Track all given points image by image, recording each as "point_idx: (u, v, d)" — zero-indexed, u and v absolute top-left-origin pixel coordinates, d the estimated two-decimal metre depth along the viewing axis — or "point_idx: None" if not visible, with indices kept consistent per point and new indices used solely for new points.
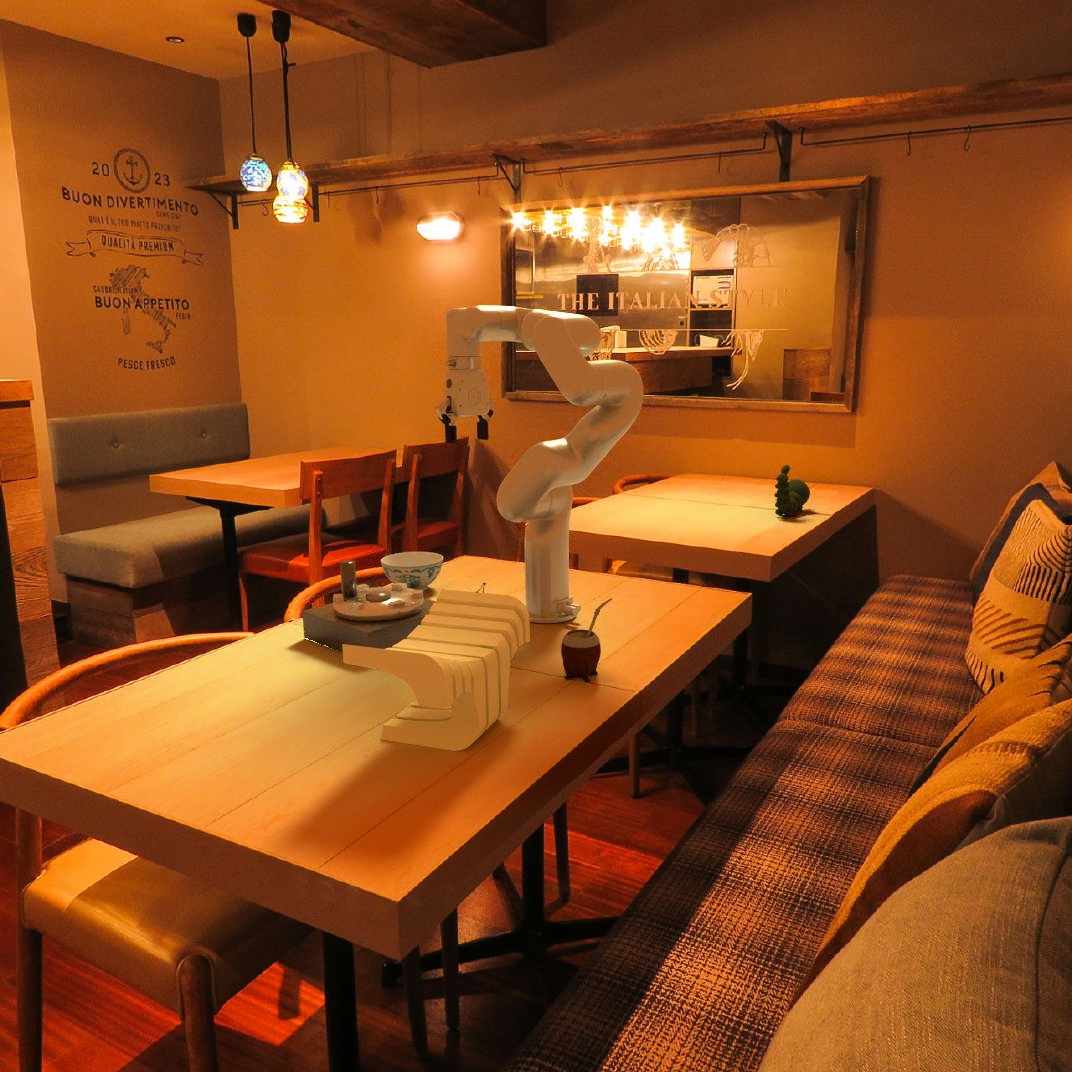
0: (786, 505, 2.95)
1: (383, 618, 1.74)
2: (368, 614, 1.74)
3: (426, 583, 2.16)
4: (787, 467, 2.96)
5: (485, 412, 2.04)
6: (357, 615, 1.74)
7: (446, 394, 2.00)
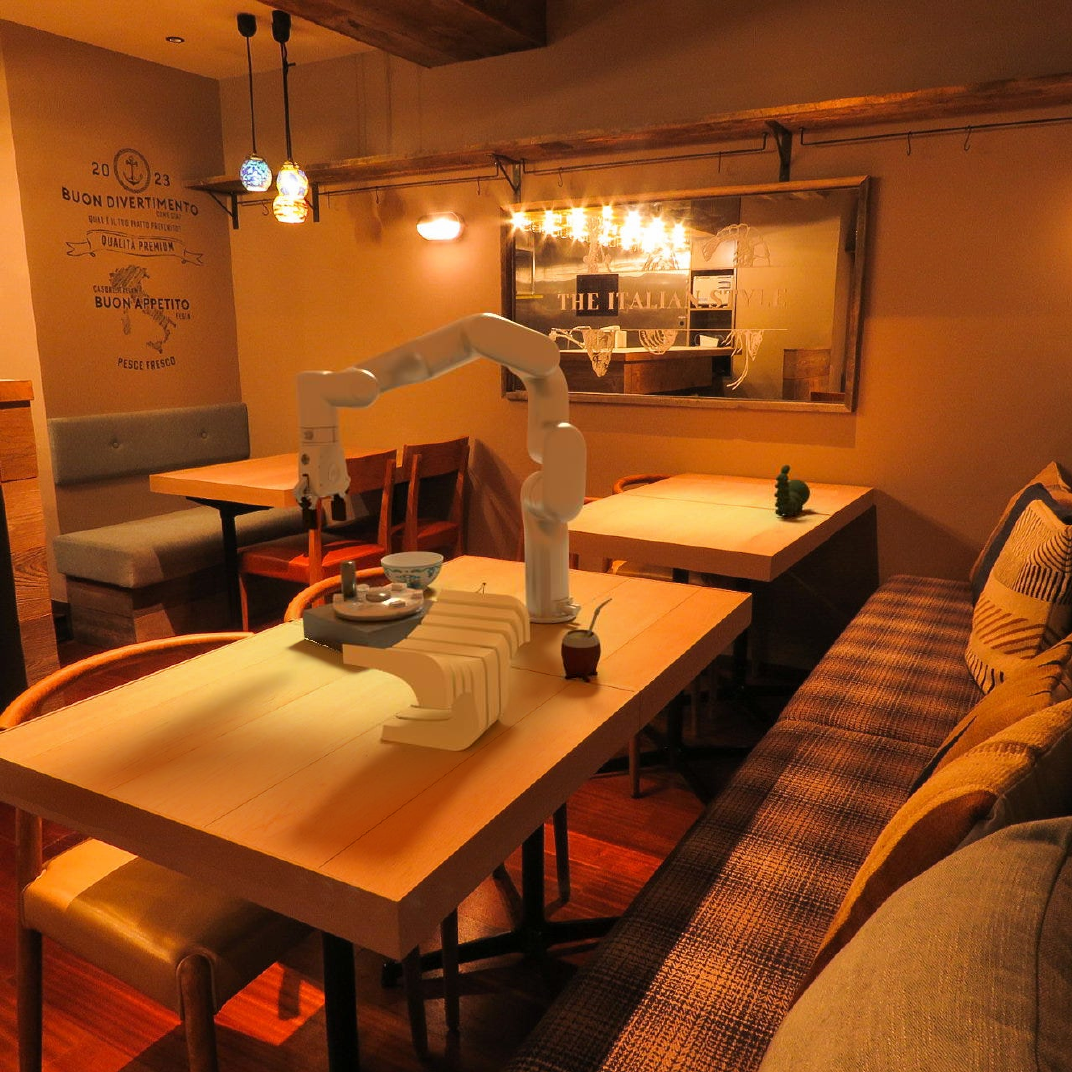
0: (786, 505, 2.95)
1: (383, 618, 1.74)
2: (368, 614, 1.74)
3: (426, 583, 2.16)
4: (787, 467, 2.96)
5: (345, 489, 1.77)
6: (357, 615, 1.74)
7: (301, 472, 1.70)
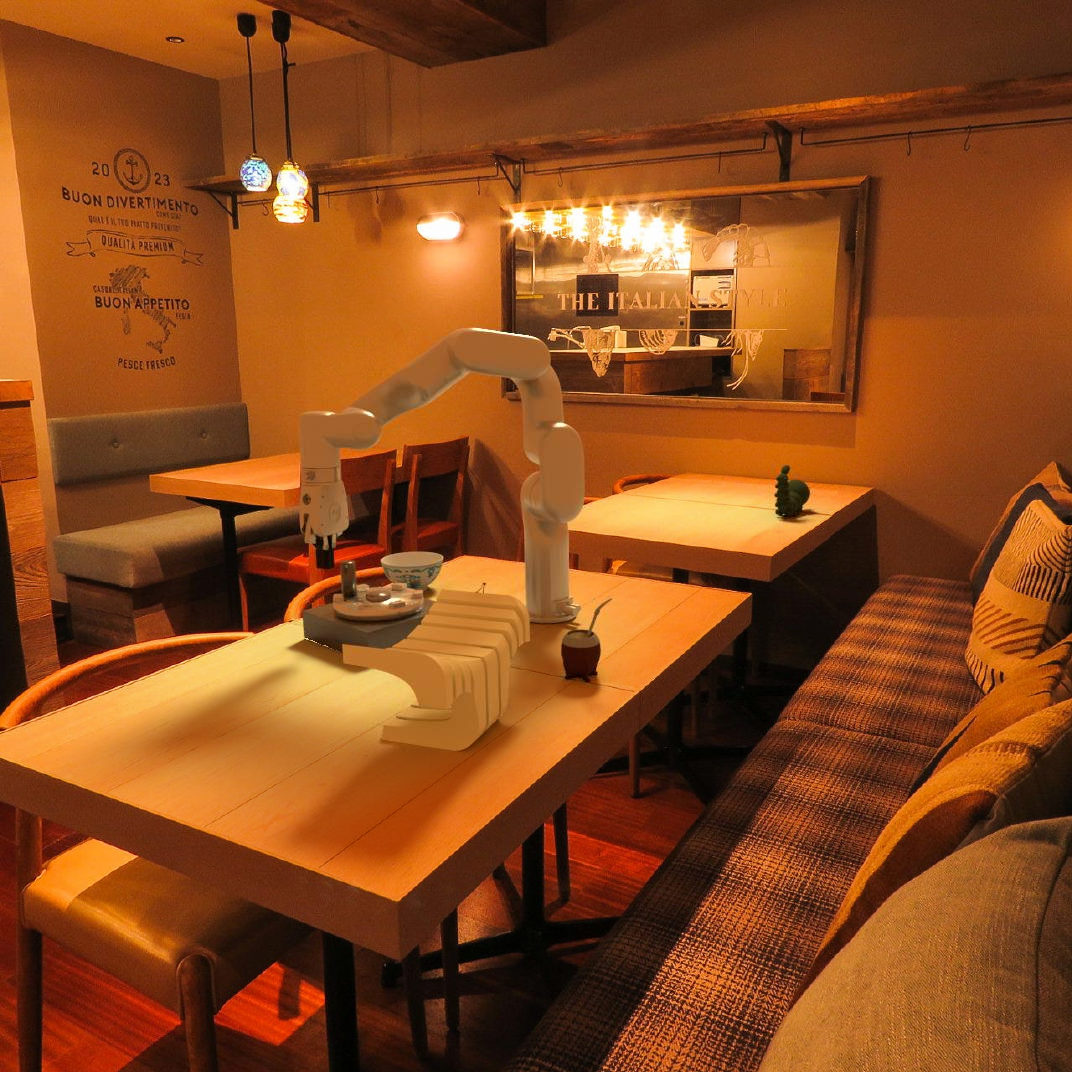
0: (786, 505, 2.95)
1: (383, 618, 1.74)
2: (368, 614, 1.74)
3: (426, 583, 2.16)
4: (787, 467, 2.96)
5: (345, 528, 1.78)
6: (357, 615, 1.74)
7: (303, 511, 1.71)
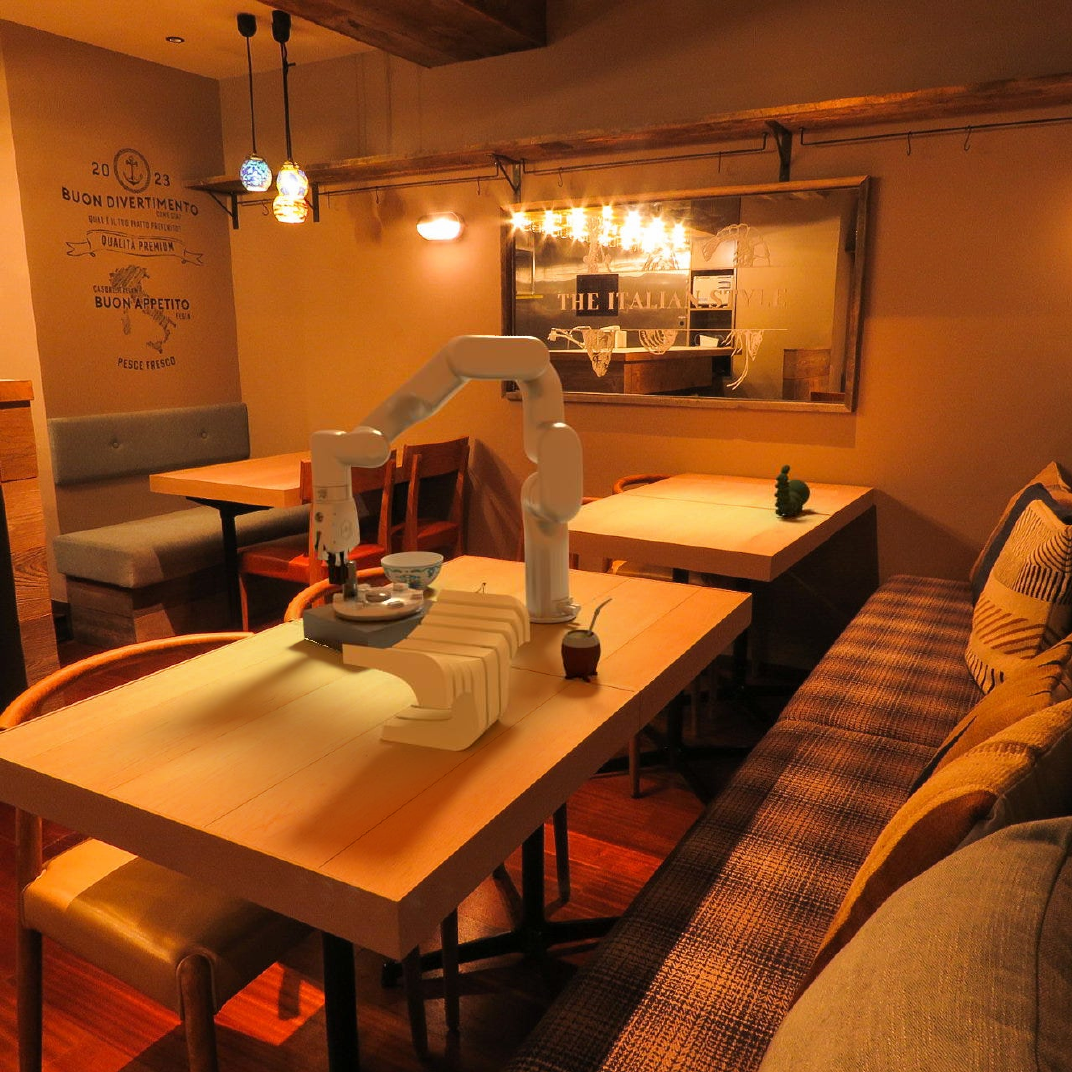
0: (786, 505, 2.95)
1: (381, 618, 1.74)
2: (366, 614, 1.74)
3: (426, 583, 2.16)
4: (787, 467, 2.96)
5: (356, 544, 1.82)
6: (355, 615, 1.75)
7: (315, 529, 1.75)
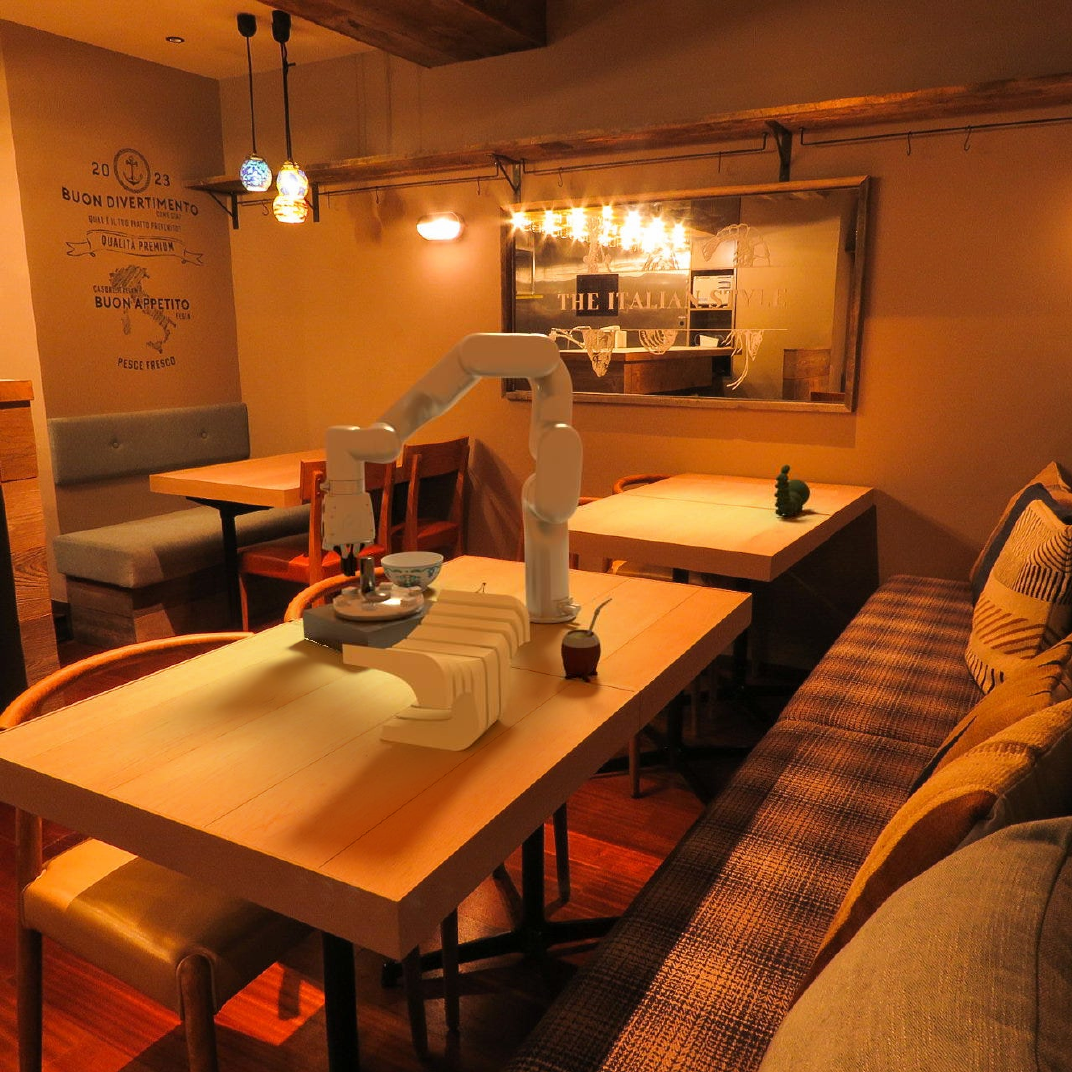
0: (786, 505, 2.95)
1: (352, 618, 1.75)
2: (342, 611, 1.76)
3: (426, 583, 2.16)
4: (787, 467, 2.96)
5: (368, 539, 1.84)
6: (336, 610, 1.78)
7: (322, 519, 1.82)
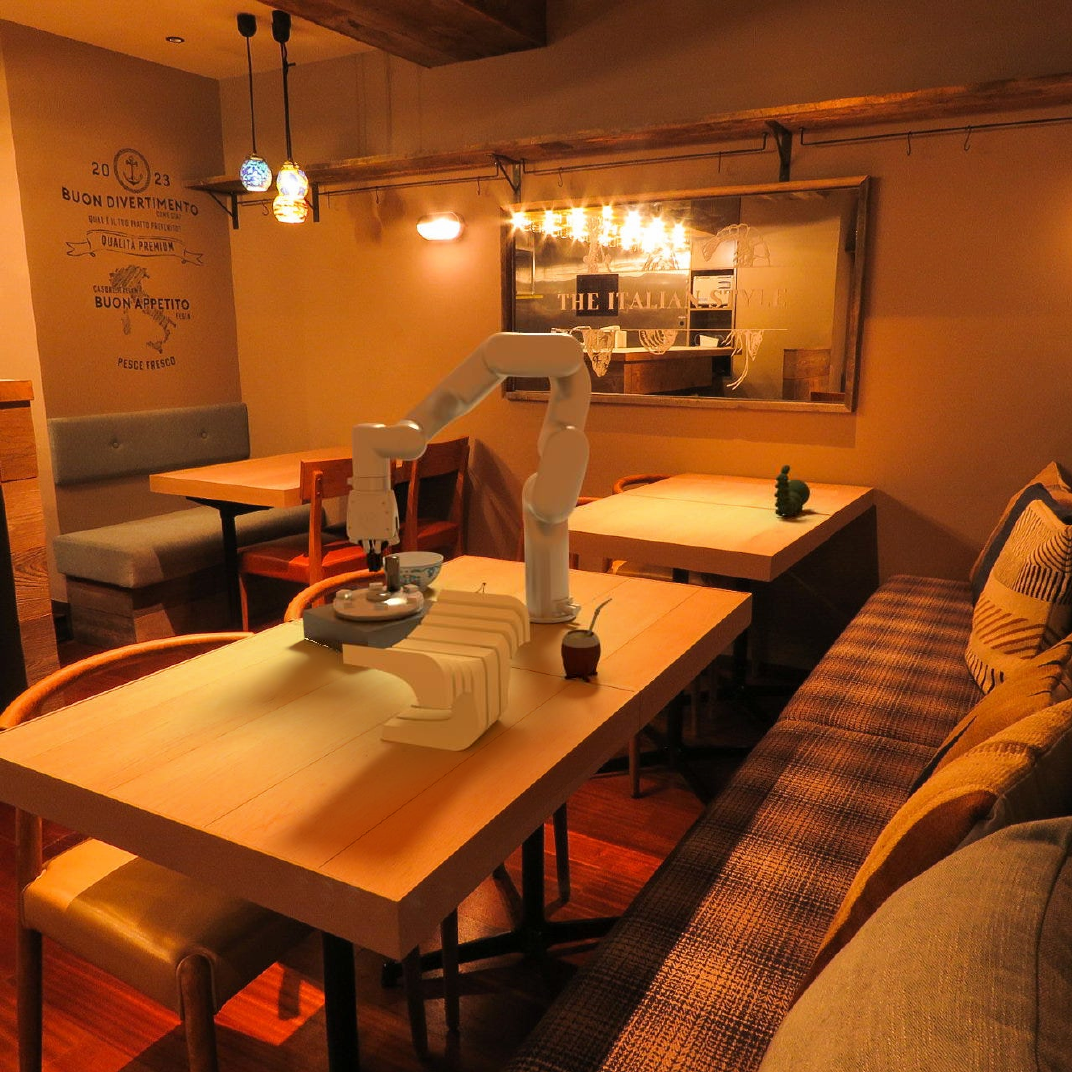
0: (786, 505, 2.95)
1: (334, 611, 1.80)
2: None
3: (426, 583, 2.16)
4: (787, 467, 2.96)
5: (384, 538, 1.84)
6: None
7: None
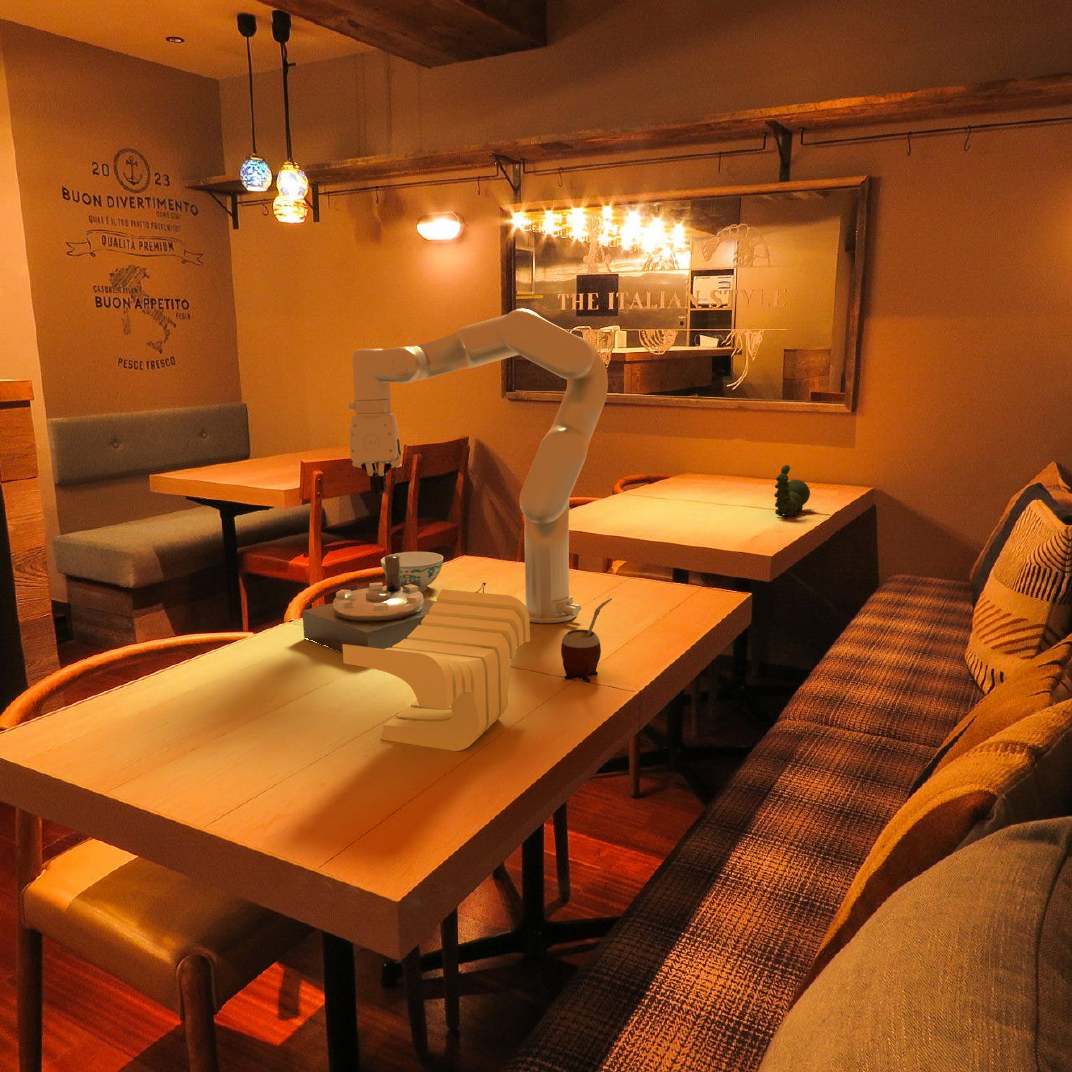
0: (786, 505, 2.95)
1: (334, 611, 1.80)
2: None
3: (426, 583, 2.16)
4: (787, 467, 2.96)
5: (387, 459, 1.90)
6: None
7: None
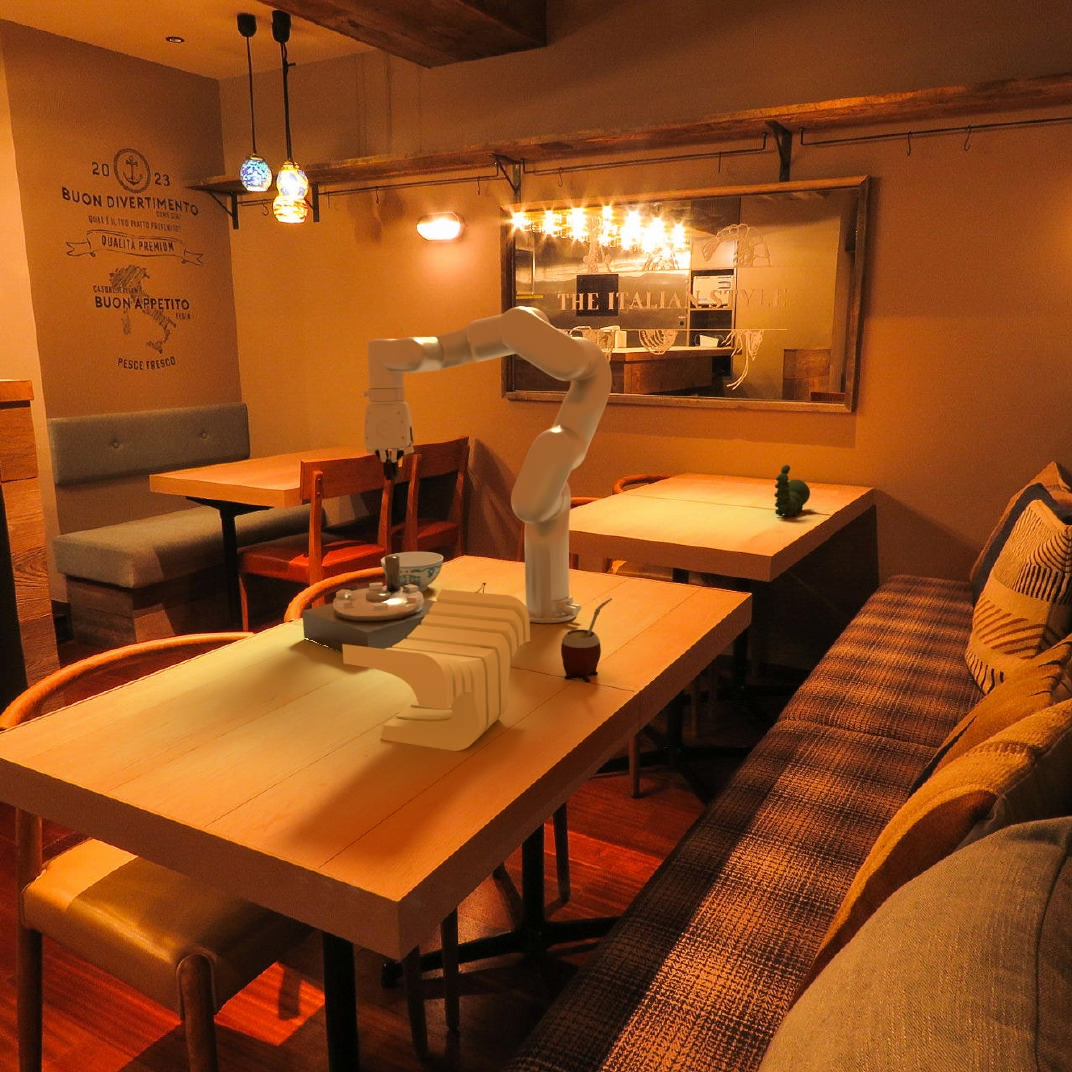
0: (786, 505, 2.95)
1: (334, 611, 1.80)
2: None
3: (426, 583, 2.16)
4: (787, 467, 2.96)
5: (400, 446, 1.96)
6: None
7: None
